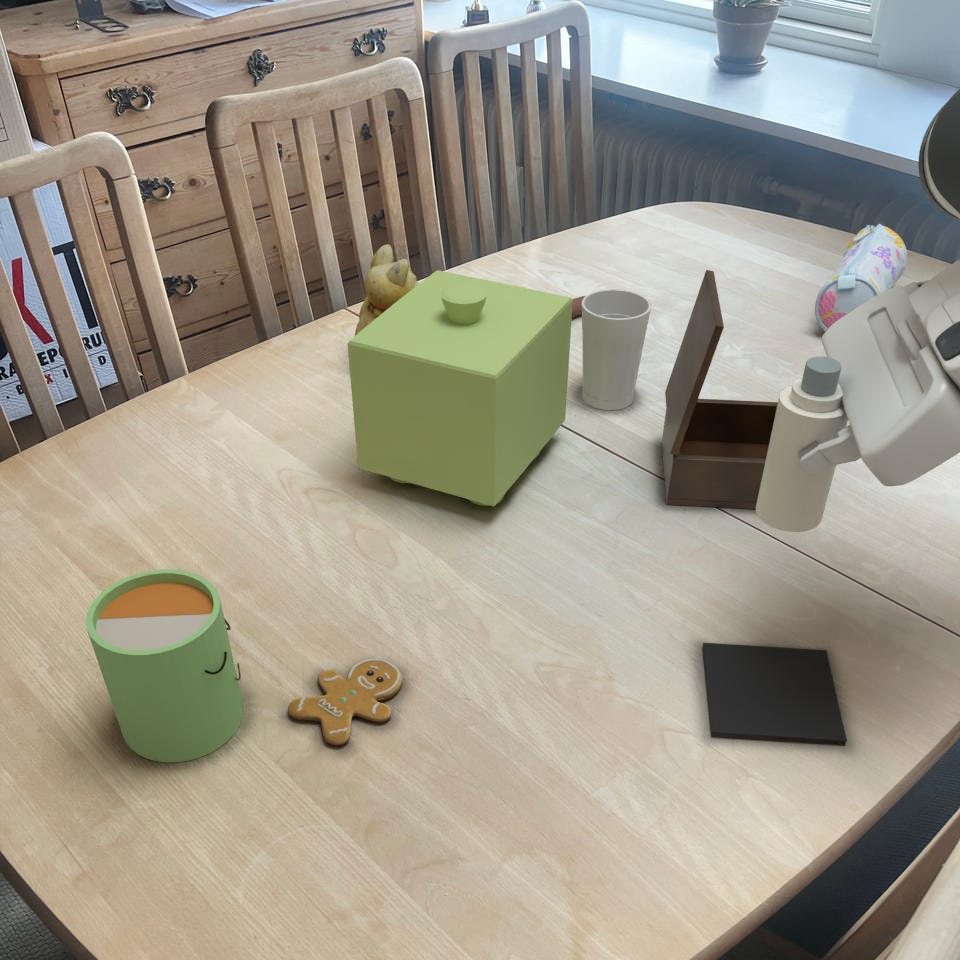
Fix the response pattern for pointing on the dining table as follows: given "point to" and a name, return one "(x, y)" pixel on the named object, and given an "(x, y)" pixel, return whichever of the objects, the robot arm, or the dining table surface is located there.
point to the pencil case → (861, 273)
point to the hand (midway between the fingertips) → (797, 442)
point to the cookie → (350, 698)
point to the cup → (612, 346)
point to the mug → (167, 664)
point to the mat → (772, 694)
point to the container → (460, 384)
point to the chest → (720, 454)
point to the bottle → (798, 423)
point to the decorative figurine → (384, 285)
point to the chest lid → (693, 361)
